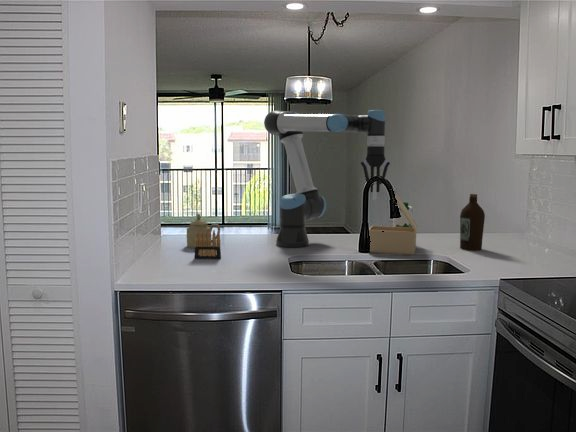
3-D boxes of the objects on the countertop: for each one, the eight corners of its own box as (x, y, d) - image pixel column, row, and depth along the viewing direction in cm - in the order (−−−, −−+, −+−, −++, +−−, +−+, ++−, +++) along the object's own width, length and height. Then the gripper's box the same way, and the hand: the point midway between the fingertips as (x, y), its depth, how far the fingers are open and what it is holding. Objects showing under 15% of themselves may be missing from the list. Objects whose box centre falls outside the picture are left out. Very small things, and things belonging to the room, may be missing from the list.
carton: (367, 252, 250) (368, 229, 249) (371, 247, 262) (371, 225, 261) (414, 255, 245) (414, 232, 243) (415, 249, 257) (416, 227, 256)
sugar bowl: (218, 243, 268) (218, 211, 266) (220, 248, 257) (220, 214, 255) (186, 244, 265) (186, 212, 263) (187, 248, 254) (186, 215, 253)
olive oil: (473, 246, 268) (475, 192, 264) (488, 250, 258) (491, 195, 254) (453, 247, 264) (456, 193, 261) (468, 251, 254) (471, 195, 251)
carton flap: (388, 191, 244) (390, 190, 244) (391, 189, 257) (393, 188, 257) (414, 231, 243) (416, 230, 243) (416, 226, 256) (418, 225, 256)
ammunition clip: (194, 258, 233) (194, 229, 231) (195, 258, 235) (194, 229, 233) (220, 259, 233) (220, 230, 232) (221, 258, 235) (220, 229, 233)
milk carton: (393, 245, 267) (394, 203, 264) (391, 242, 276) (393, 201, 273) (412, 246, 266) (414, 203, 263) (410, 242, 275) (411, 201, 272)
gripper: (359, 145, 248) (358, 199, 251) (390, 145, 244) (388, 200, 247) (362, 145, 255) (361, 198, 258) (391, 145, 251) (390, 199, 254)
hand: (374, 199), depth 253 cm, fingers closed
